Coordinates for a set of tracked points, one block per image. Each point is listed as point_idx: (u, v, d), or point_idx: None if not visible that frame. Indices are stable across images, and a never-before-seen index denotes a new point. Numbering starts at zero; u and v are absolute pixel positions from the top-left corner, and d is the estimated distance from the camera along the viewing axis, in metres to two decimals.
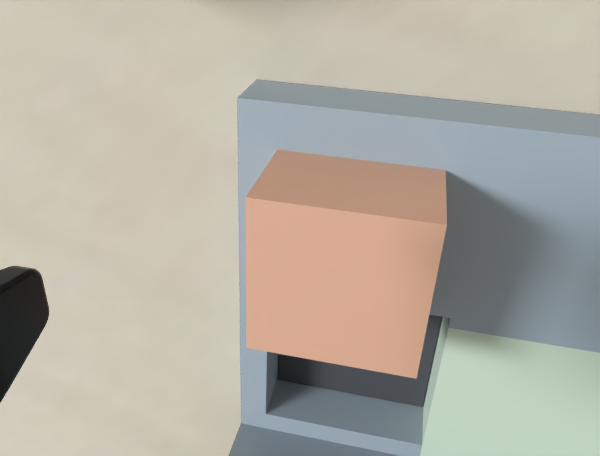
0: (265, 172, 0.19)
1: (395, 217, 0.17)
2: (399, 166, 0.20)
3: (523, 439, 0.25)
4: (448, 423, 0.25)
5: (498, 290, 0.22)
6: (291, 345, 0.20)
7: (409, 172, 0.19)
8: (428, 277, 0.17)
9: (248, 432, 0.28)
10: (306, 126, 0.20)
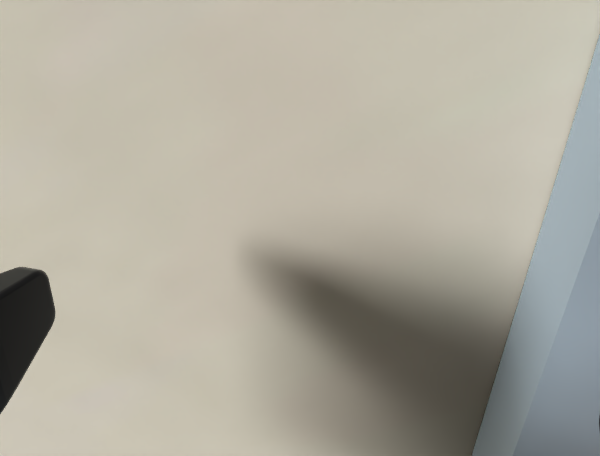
0: None
1: None
2: None
3: None
4: None
5: None
6: None
7: None
8: None
9: None
10: None
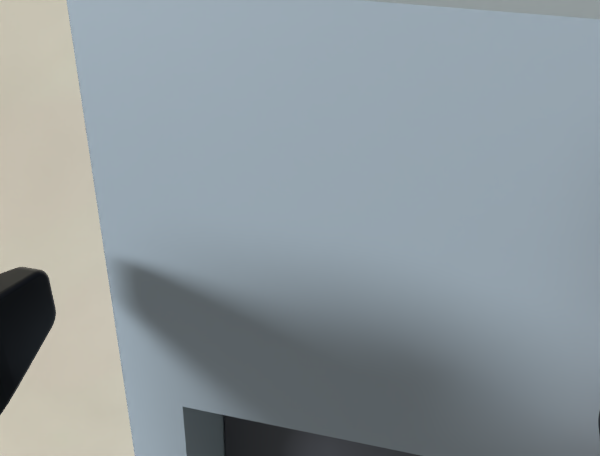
0: None
1: None
2: None
3: None
4: None
5: None
6: None
7: None
8: None
9: None
10: (240, 50, 0.08)
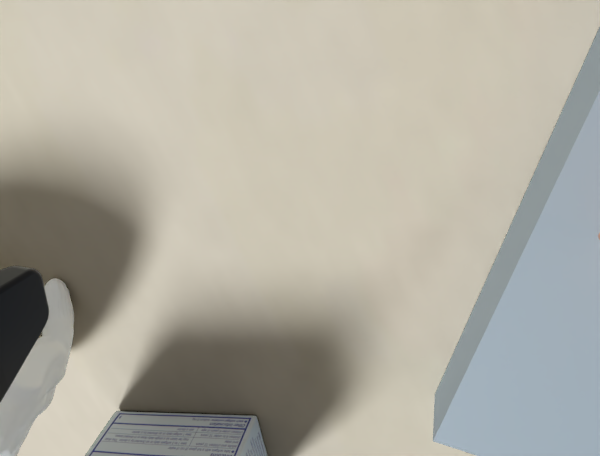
0: None
1: None
2: None
3: None
4: None
5: None
6: None
7: None
8: None
9: None
10: (475, 402, 0.20)
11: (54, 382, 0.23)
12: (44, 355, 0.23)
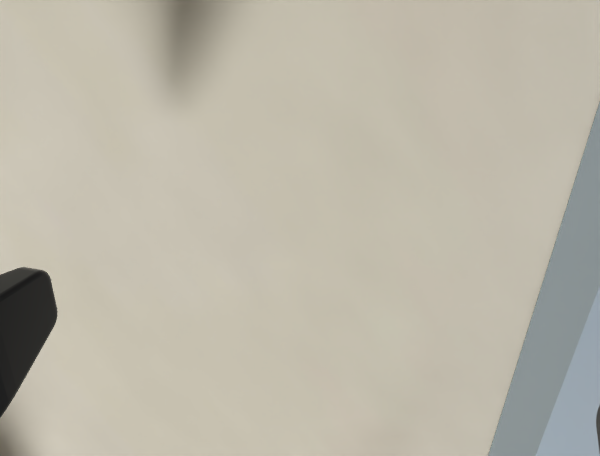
0: None
1: None
2: None
3: None
4: None
5: None
6: None
7: None
8: None
9: None
10: None
11: None
12: None
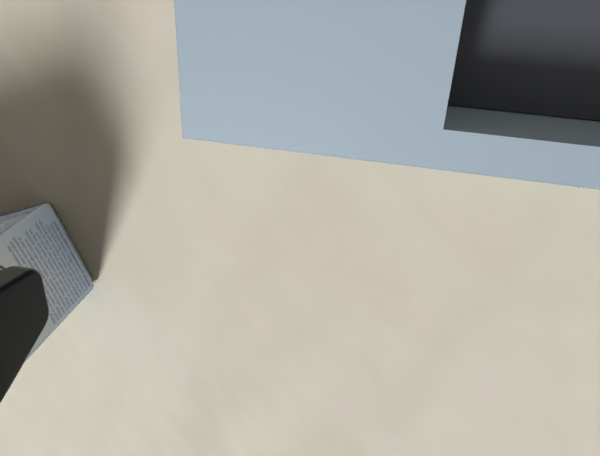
0: None
1: None
2: None
3: None
4: None
5: None
6: None
7: None
8: None
9: None
10: (201, 60, 0.17)
11: None
12: None
